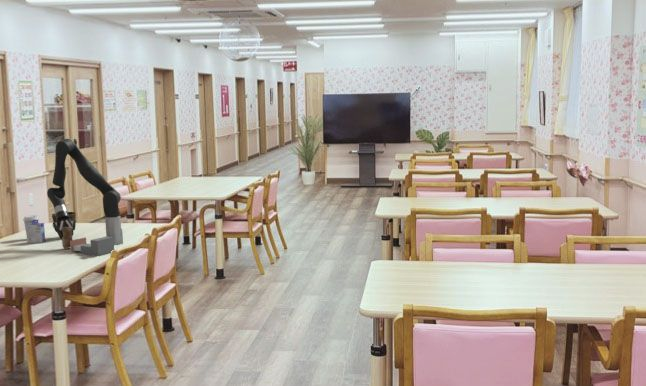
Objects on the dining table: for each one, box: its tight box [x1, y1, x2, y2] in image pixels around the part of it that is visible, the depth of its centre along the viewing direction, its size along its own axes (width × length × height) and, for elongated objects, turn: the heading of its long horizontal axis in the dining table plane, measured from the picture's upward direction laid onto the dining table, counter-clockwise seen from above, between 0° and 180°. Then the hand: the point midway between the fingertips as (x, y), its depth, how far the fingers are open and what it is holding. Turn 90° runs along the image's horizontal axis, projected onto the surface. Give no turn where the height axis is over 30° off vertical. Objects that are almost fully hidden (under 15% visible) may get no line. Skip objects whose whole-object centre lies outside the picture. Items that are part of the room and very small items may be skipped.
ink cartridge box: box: [25, 219, 46, 244], centre depth 464 cm, size 10×6×14 cm, turn 89°
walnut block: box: [61, 227, 73, 249], centre depth 442 cm, size 5×5×12 cm
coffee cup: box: [22, 214, 39, 236], centre depth 476 cm, size 10×10×15 cm
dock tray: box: [69, 237, 91, 252], centre depth 434 cm, size 10×11×6 cm
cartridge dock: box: [80, 235, 115, 257], centre depth 428 cm, size 15×12×9 cm
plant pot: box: [51, 211, 77, 240], centre depth 478 cm, size 15×15×16 cm
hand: (67, 235), depth 441 cm, fingers closed on walnut block, 5 cm apart
